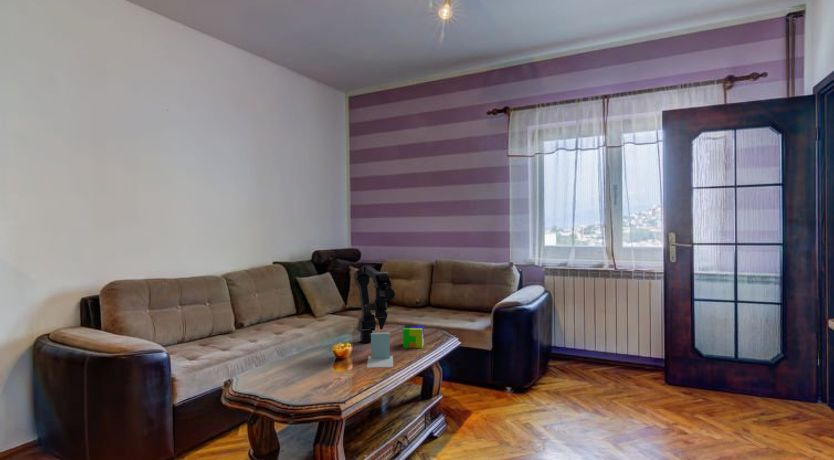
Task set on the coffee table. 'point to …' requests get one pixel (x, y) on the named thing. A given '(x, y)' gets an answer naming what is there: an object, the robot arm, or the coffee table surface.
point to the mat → (380, 362)
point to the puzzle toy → (413, 336)
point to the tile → (380, 345)
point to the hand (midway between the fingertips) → (381, 327)
